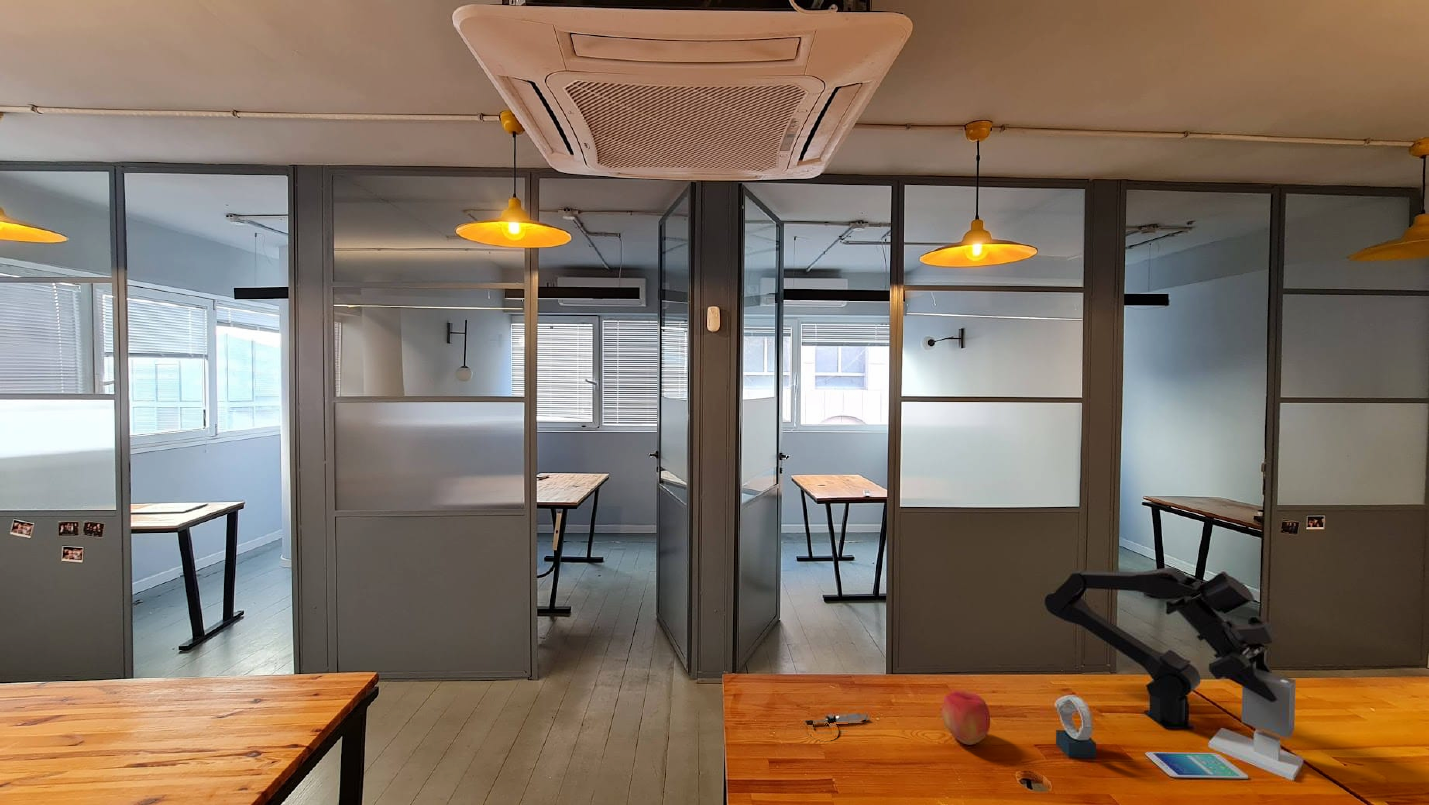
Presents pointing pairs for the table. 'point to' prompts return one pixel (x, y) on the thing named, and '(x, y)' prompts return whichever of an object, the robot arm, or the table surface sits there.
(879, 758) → the table surface
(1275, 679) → the gray rectangular block
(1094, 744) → the watch
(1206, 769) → the smartphone
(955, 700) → the apple
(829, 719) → the micrometer
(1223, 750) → the post stand
